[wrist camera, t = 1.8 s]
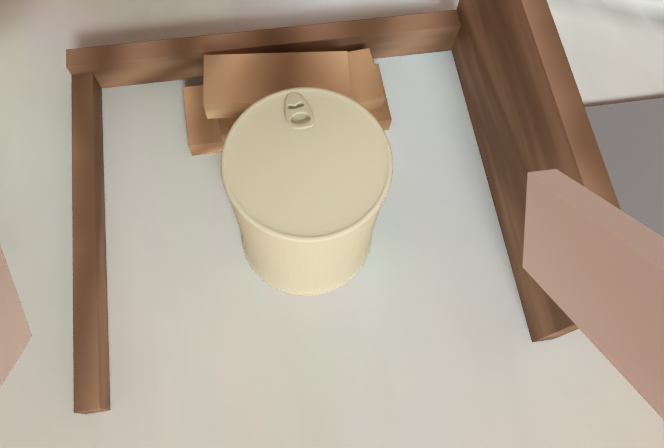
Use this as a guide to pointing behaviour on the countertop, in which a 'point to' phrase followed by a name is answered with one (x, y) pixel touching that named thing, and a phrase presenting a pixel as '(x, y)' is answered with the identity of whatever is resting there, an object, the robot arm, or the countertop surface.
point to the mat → (634, 156)
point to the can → (306, 186)
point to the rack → (383, 41)
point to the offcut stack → (275, 88)
